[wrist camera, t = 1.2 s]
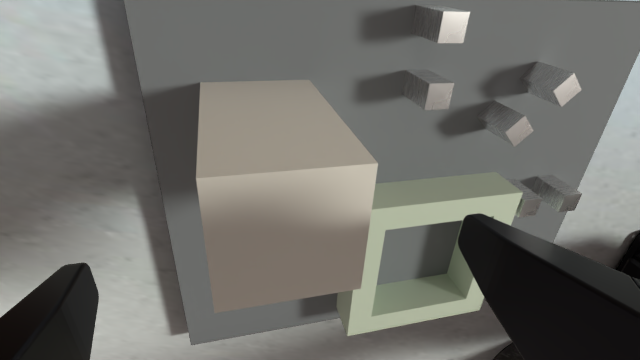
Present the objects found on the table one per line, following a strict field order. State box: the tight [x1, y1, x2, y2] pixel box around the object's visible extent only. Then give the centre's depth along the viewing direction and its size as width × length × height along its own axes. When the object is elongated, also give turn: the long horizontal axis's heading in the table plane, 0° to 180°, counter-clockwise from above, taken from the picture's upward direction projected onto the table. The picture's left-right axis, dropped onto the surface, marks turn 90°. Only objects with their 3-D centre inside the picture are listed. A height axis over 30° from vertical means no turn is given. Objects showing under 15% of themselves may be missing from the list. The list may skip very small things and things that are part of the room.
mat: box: [124, 0, 640, 345], centre depth 19 cm, size 22×17×1 cm
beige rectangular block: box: [196, 80, 378, 313], centre depth 12 cm, size 4×4×7 cm
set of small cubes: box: [402, 5, 582, 218], centre depth 17 cm, size 10×9×2 cm
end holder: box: [336, 172, 523, 336], centre depth 20 cm, size 8×8×2 cm
